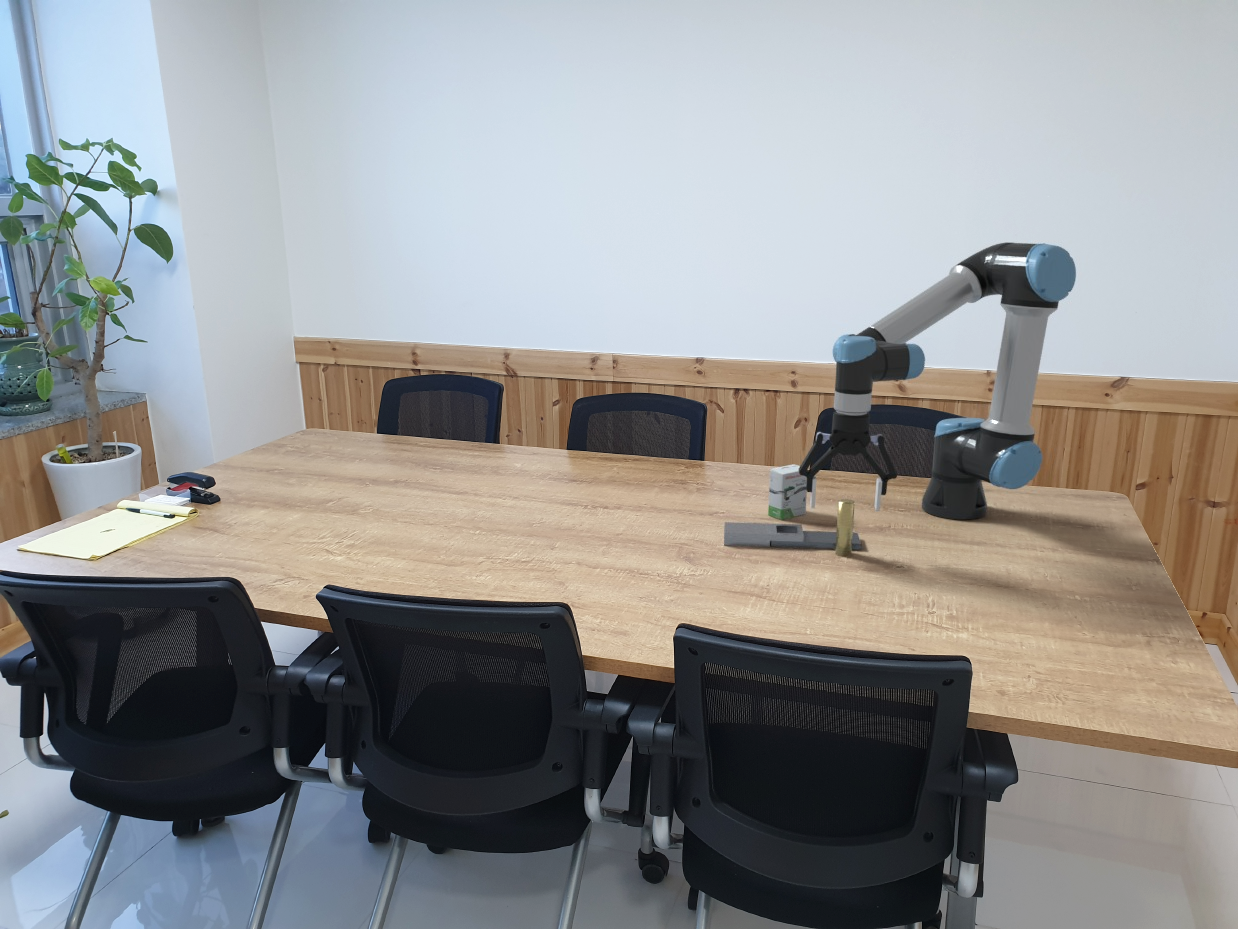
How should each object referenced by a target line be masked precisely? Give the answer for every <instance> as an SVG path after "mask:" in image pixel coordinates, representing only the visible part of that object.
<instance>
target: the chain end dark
mask: <svg viewBox="0 0 1238 929" xmlns="http://www.w3.org/2000/svg"><path fill="white" fill-rule="evenodd" d="M777 533H796V532H777ZM836 533H837V531H824V530H823V531H818V530H814V531H813V530H803V534H804V539H803V542H796V541H770V547H771V548H788V549H789V548H791V549H792V548H794V549H819V550H821V549H823V550H836ZM861 550H862V543H861V540H860V537H859V533H858V532H854V531H853V536H852V551H861Z"/></svg>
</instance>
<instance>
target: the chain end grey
mask: <svg viewBox="0 0 1238 929" xmlns="http://www.w3.org/2000/svg"><path fill="white" fill-rule="evenodd" d="M803 531H804V530H803V526H802V524H798V523H797V524H796V523H795V524H793V523H792V524H791V523H766V522H765V523H763V522H762V523H761V522H734V521H733V522H732V521H731V522H729V521H725V522H724V532H723V546H732V547H735V546H736V547H737V546H738V547H759V548H760V547H761V548H763V547H765V548H770V547H771V541H796V542H803V539H804V534H803ZM777 532H796V533H777Z"/></svg>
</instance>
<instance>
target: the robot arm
mask: <svg viewBox="0 0 1238 929" xmlns="http://www.w3.org/2000/svg"><path fill="white" fill-rule="evenodd" d="M1076 278H1077V268H1076V264H1075V261H1074V258H1073V257H1072V256H1071V254H1070V252H1069V251H1068V250H1067V249H1065V248H1064V247H1062V246H1059V245H1056V244H1055V245H1053V244H1048V243H1027V242H1026V243H1024V242H1023V243H1022V242H1006V241H1005V242H1000V243H996V244H994V245H991V246H988V247H985V248H983V249H982V250H980V251H979V250H978V251H977V252H975V253H974V254H972V255H970V256H968V257H967V258H965V259H963V260H961V261H960V262H958V263H957V264H956V265H954V266H952V267H951V268H950V269H949V273H948V275H946V276H945V277H943V278H942V279H940V280H938V282H935V283H934V284H933V285H931V286H930V287H928V288H927V289H925V290H923V291H922V292H920V293H919V294H918V295H916V296H915V297H913V298H911V299H910V300H908V301H907V302H905V303H904V304H902V305H900V306H899V307H897V308H896V309H894V310H893V311H891V312H890V313H888V314H887V315H885V316H884V317H882V318H881V319H879V320H877V321H876V322H875V323H873V324H871V325H869V326H868V327H867V328H865V329H863V330H862V331H861V332H859V333H857V334H854V333H850V334H849V333H848V334H843V335H841V336H840V337H838V338H837V340H835V342H834V344H833V347H832V357H833V359H834V361H835V363H836V364H835V382H834V396H833V399H834V401H833V409H834V411H833V412H832V423H831V424H832V425H831V432H830V433H824V432H822V431H821V430H820V431H817V432H816V434H815V440H814V442H813V444H812V446H811V447H810V449H809V450H808V452H807V455H806V456H805V457H804V459H803V461H802V462H801V464H800V465H799V466H800V467H799V474H800V475H803V476H806V477H807V481H806V490H807V493H810V500H809V501H810V502H809V505H810V509H816V508H815V507H816V496H817V495H816V494H817V493H816V492H817V476H816V475H817V474H819V472H821V470H822V469H823V468H824V467H825V466H826V465H827V464H828V463H829V462H830V461H831V460H832V459H833V458H835V457H836V456H837V454H840V455H841V456H847V455H850V456H854V457H856V456H858V455H860V454H861V455H862V457H863V458H864V459H865V460H866V462H867V463H868V464H869V465H870V467H872V469H873V470H874V471H875V472H876V474H877V475H878V476H879V477H878V478H876V481H875V482H876V484H875V493H874V495H875V497H874V510H875V511H876V512H880V511H881V501H882V496H886V495H887V491H888V482H889V481H890V480H896V479H897V478H898V474H897V472H896V470H895V467H894V466H893V463H892V461H891V458H890V457H889V454H888V452H887V450H886V447H885V438H884V435H883V434H882V433H881V432H879V433H877V434H874V435H870V433H869V432H870V423H871V422H870V419H871V414H870V413H869V412H871V407H872V395H873V394H872V393H873V385H874V383H876V382H877V383H878V382H890V381H906V380H911V379H916V378H918V377H920V375H921V374H922V373H923V372H924V370H925V364H926V356H925V353H924V350H923V348H922V347H920V345H918V344H916V343H907V342H908V341H910V340H912V339H914V338H915V337H916V336H919V335H920V334H922V333H923V332H924V331H926V330H927V329H929V328H930V327H932V326H934V325H935V324H936V323H938V322H939V321H941V320H943V319H944V318H946V317H947V316H949V315H951V314H952V313H954V312H955V311H956V310H958V309H959V308H961V307H962V306H964V305H966V304H968V303H969V304H974V303H976V302H978V301H980V300H981V299H983V298H985V297H989V296H999V295H1001V298H1000V304H999V305H1000V306H1001V307H1002V309H1003V310H1004V312H1005V319H1004V324H1003V326H1004V327H1003V331H1002V337H1001V341H1000V348H999V354H998V360H997V361H998V362H997V367H996V373H995V379H994V384H993V385H994V386H993V391H992V395H991V403H990V409H989V412H988V414H989V415H988V417H987V419H984V418H978V417H956V418H954V417H953V418H946V419H942V420H940V421H938V422H937V424H936V427H935V434H934V440H933V453H932V454H933V455H932V467H931V468H932V471H931V478H930V480H929V482H928V485H927V487H926V489H925V492H924V494H923V496H922V498H921V510H923V511H924V512H926V513H928V514H930V515H932V516H936V517H938V518H944V519H951V520H976V519H981V518H982V517H984V516H986V515H987V512H988V503H987V499H986V495H985V494H986V493H985V491H984V490H985V489H984V486H983V481H984V482H986V483H989V484H991V485H992V486H994V487H997V488H1002V489H1007V490H1018V489H1021V488H1023V487H1025V486H1027V485H1028V484H1029V483H1030V482H1031V481H1032V480H1034V478H1035V477H1036V476H1037V475H1038V472H1039V471H1040V470H1041V466H1042V463H1043V451H1041V448H1040V446H1039V445H1038V444H1037V443H1035V442H1034V441H1035V436H1036V435H1035V434H1036V431H1035V430H1036V429H1034V427H1032V425H1031V424H1030V422H1031V415H1032V410H1033V405H1034V404H1033V403H1034V400H1035V393H1036V392H1035V391H1036V387H1037V381H1038V377H1039V370H1040V365H1041V360H1042V354H1043V349H1044V342H1045V337H1046V333H1047V332H1046V331H1047V327H1048V321H1049V317H1050V316H1051V315H1052V314H1053V313H1055V312H1056V311H1057V310H1058V308H1059V304H1060V303H1059V302H1060V301H1062V300H1064V299H1065V298H1067V297H1068V296H1069V294H1070V292H1072V290H1073V288H1074V287H1075V283H1076ZM828 440H829V442H830V443H831V446H830V447H829V448H828V450H827V451H826V452H824V454H823V455H822V456H821V457H820V458H819V459H817V461H816V462H815V463H814V464H813V465H812V466H810V465H811V464H812V463H813V461H814V460H815V457H816V456H817V454H818V452H819V450H820V449H821V447H822V445H823V444H825V443H826V442H827V441H828ZM871 442H872V443H873V445H874V446H877V449H878V452H879V453H880V455H881V458H882V460H883V462H884V465H885V466H886V469H887V472H885V471H884V470H883V469H882V467H881V466H880V465H879V463H878V462H877V461H876V460H875V458H874V457H873V456H872V455H871V454H870V452H869V450H868V449H867V448H866V447H867V446H869V444H870V443H871ZM807 469H808V470H807Z"/></svg>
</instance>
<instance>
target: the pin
mask: <svg viewBox="0 0 1238 929" xmlns="http://www.w3.org/2000/svg"><path fill="white" fill-rule="evenodd" d="M854 515H855V500H852V499H849V498H841V499H838V502H837V517H836V519H837V520H836V532H837V533H836V549H835V550H834V551H835V553H834V554H835V555H837V556H839V557H845V558H846V557H847V558H848V557H851V556H852V551H853V550H852V536H853V532H854V517H855V516H854Z"/></svg>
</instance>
